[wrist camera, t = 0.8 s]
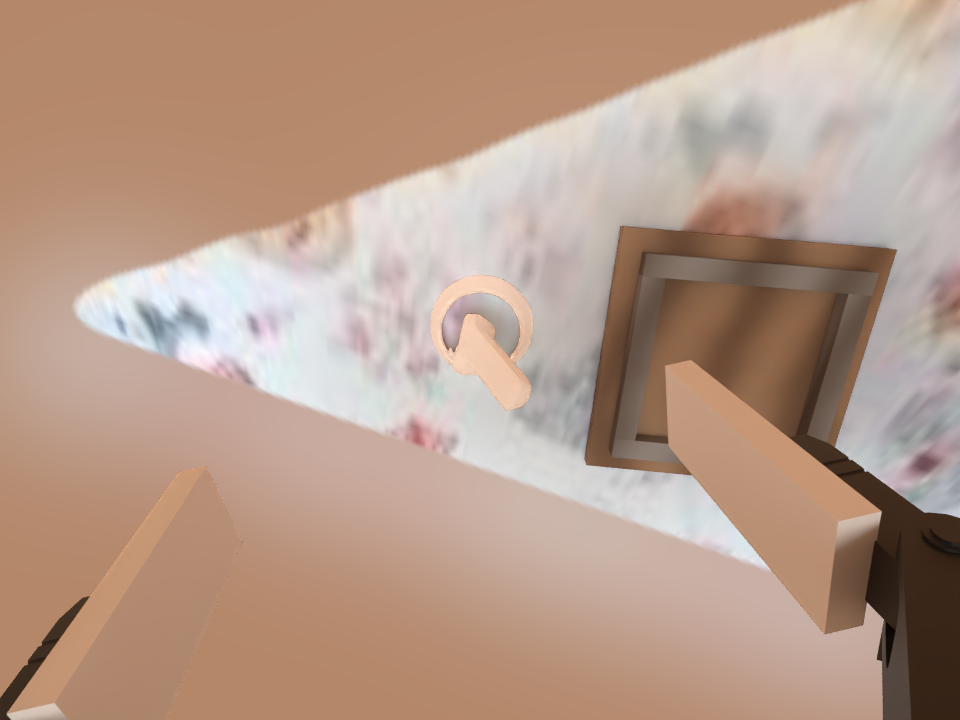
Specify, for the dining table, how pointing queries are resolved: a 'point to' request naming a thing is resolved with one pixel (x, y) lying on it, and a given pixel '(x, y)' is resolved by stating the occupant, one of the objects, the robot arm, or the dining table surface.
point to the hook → (487, 340)
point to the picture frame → (731, 334)
